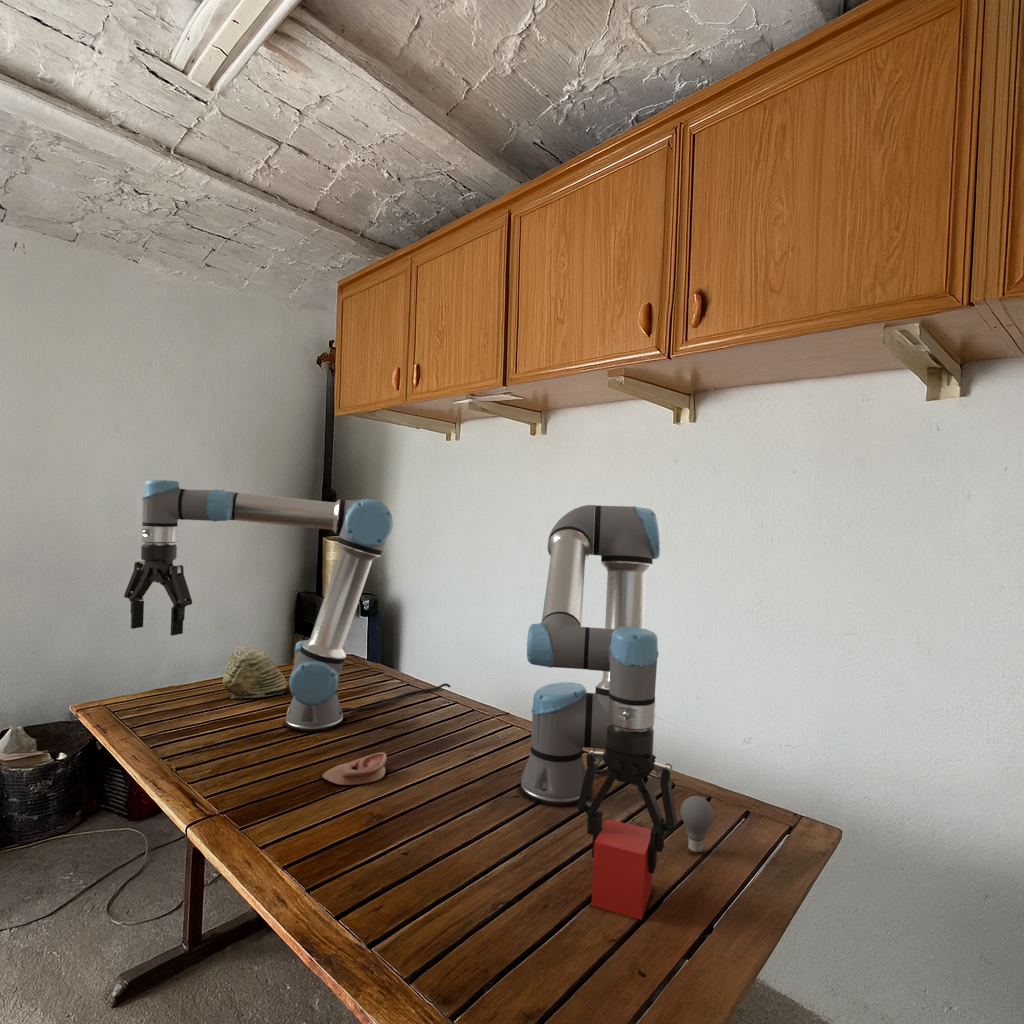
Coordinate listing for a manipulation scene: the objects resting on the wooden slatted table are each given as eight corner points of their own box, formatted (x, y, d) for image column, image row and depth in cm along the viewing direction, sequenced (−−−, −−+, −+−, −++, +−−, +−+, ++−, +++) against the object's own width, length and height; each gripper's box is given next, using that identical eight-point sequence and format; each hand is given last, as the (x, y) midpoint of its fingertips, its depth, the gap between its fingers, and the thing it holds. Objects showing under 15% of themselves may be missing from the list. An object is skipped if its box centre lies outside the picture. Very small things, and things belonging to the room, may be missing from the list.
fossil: (218, 695, 195) (220, 647, 195) (278, 685, 208) (279, 640, 207) (228, 703, 189) (230, 653, 188) (289, 692, 201) (290, 645, 201)
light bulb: (674, 841, 122) (676, 790, 121) (704, 841, 122) (707, 790, 122) (685, 859, 116) (688, 805, 115) (717, 859, 116) (719, 805, 116)
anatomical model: (316, 763, 140) (340, 744, 151) (315, 781, 140) (339, 761, 151) (372, 771, 137) (392, 751, 149) (371, 789, 138) (391, 768, 149)
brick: (591, 906, 102) (594, 841, 101) (604, 878, 109) (606, 818, 109) (641, 921, 99) (645, 854, 98) (651, 891, 106) (654, 829, 106)
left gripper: (109, 540, 154) (106, 627, 155) (183, 548, 145) (180, 640, 145) (137, 539, 161) (135, 622, 162) (210, 546, 152) (207, 634, 152)
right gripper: (560, 720, 104) (554, 856, 105) (695, 744, 96) (688, 892, 96) (574, 707, 111) (568, 834, 111) (700, 729, 103) (693, 866, 103)
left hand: (156, 631), depth 153 cm, fingers open, 13 cm apart
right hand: (623, 861), depth 104 cm, fingers open, 9 cm apart
